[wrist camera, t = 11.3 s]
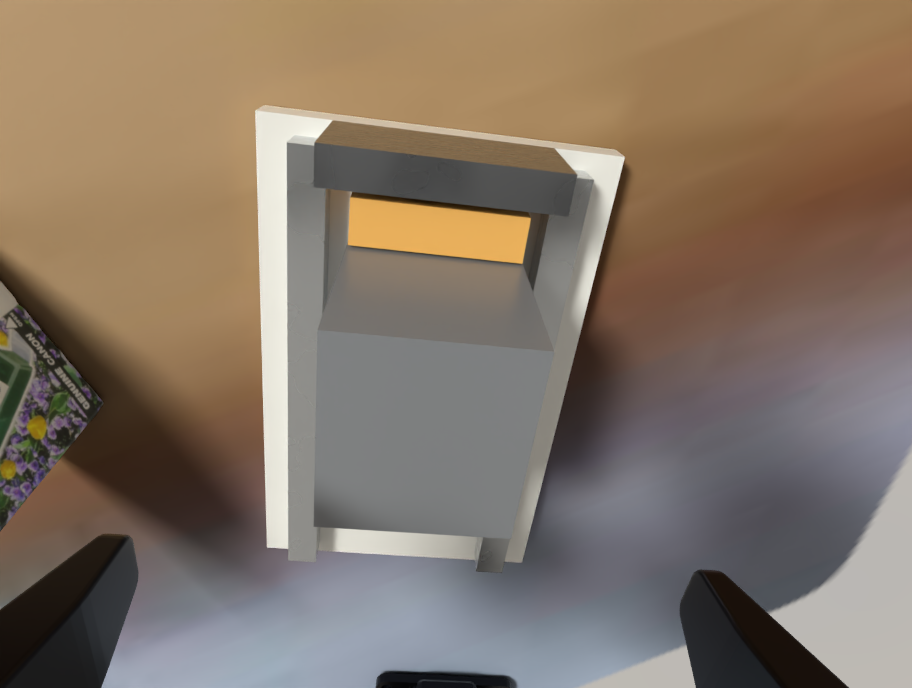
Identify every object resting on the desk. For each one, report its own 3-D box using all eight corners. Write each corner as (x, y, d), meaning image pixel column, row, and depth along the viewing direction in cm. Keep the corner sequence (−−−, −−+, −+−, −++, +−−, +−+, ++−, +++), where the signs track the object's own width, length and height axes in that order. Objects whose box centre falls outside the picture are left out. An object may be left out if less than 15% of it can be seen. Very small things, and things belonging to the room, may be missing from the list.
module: (486, 377, 20) (511, 539, 14) (349, 366, 20) (313, 527, 14) (511, 232, 18) (554, 351, 12) (356, 216, 18) (317, 329, 11)
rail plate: (518, 543, 25) (533, 629, 22) (272, 528, 25) (246, 615, 21) (615, 149, 18) (660, 185, 14) (264, 105, 17) (221, 131, 13)
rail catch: (511, 233, 18) (522, 263, 16) (357, 215, 17) (348, 244, 15) (518, 192, 17) (531, 217, 15) (359, 173, 17) (350, 197, 15)
